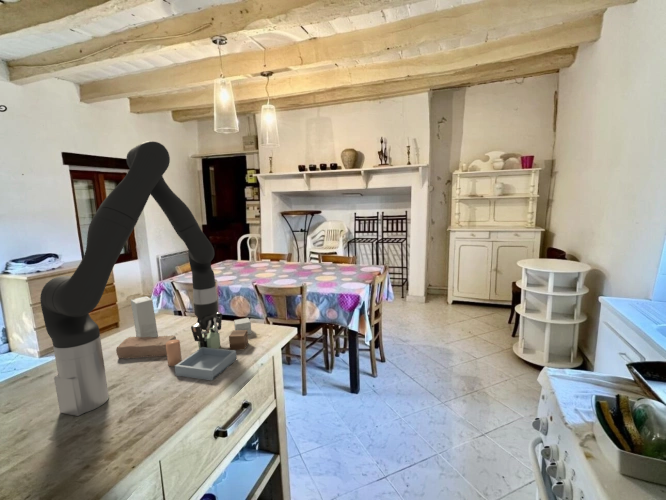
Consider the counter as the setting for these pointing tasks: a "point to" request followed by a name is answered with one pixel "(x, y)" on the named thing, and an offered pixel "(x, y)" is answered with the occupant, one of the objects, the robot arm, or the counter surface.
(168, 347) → the peach capsule
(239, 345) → the walnut cube
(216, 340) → the green block
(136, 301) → the skincare box
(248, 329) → the small box
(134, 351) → the brick
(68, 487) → the counter surface
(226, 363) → the tray
